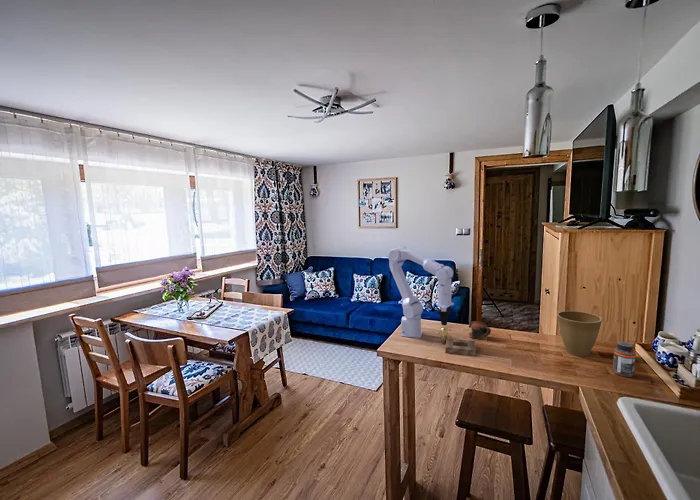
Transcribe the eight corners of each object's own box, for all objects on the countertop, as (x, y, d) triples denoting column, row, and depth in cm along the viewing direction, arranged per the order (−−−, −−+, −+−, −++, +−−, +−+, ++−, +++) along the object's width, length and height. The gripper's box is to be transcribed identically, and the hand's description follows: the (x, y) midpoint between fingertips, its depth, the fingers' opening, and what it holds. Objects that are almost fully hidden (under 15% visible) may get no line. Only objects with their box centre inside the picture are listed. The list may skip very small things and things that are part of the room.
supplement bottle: (612, 368, 121) (614, 339, 119) (633, 372, 117) (636, 343, 116) (612, 374, 116) (614, 344, 115) (634, 379, 112) (636, 348, 111)
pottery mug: (462, 336, 156) (464, 320, 158) (475, 341, 160) (477, 325, 162) (484, 338, 145) (486, 320, 148) (497, 343, 150) (498, 325, 152)
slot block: (445, 352, 138) (445, 347, 137) (446, 343, 147) (446, 338, 147) (475, 356, 134) (475, 350, 133) (474, 346, 143) (474, 341, 143)
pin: (440, 343, 147) (440, 328, 147) (441, 340, 150) (441, 326, 149) (447, 344, 146) (447, 329, 146) (447, 341, 149) (447, 327, 148)
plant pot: (570, 343, 143) (572, 308, 142) (607, 356, 130) (610, 318, 128) (547, 349, 138) (549, 313, 136) (584, 364, 124) (586, 324, 122)
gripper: (453, 297, 137) (453, 328, 139) (454, 289, 151) (454, 317, 153) (436, 297, 140) (436, 327, 141) (438, 289, 153) (438, 316, 155)
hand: (444, 322), depth 147 cm, fingers open, 7 cm apart
